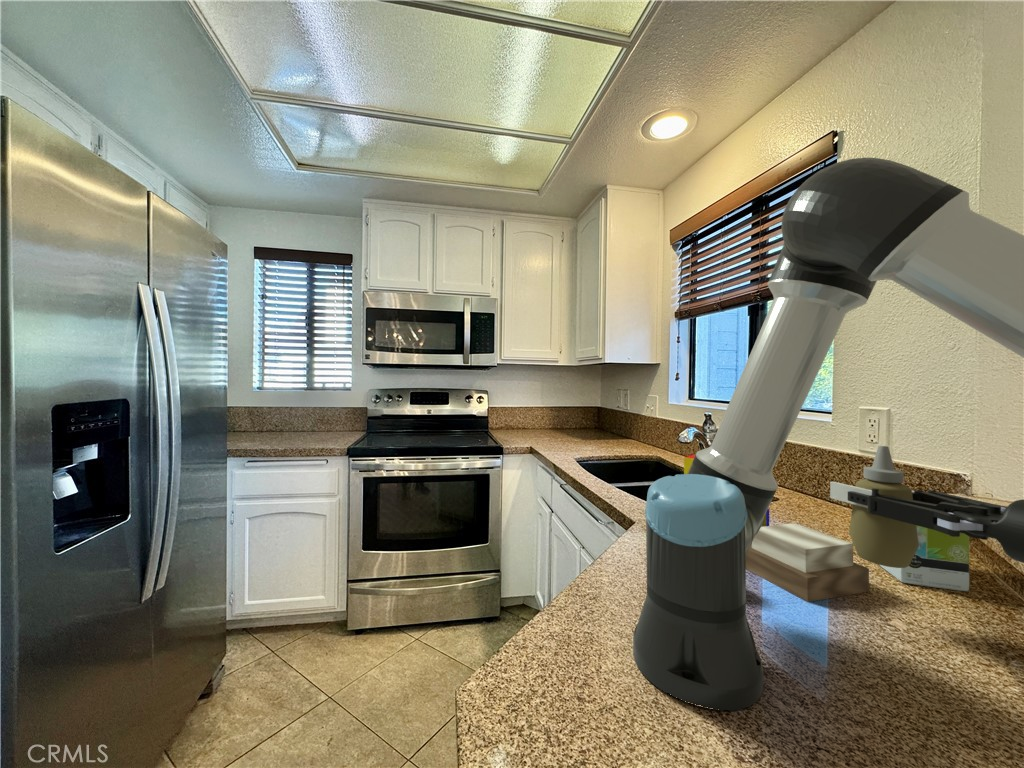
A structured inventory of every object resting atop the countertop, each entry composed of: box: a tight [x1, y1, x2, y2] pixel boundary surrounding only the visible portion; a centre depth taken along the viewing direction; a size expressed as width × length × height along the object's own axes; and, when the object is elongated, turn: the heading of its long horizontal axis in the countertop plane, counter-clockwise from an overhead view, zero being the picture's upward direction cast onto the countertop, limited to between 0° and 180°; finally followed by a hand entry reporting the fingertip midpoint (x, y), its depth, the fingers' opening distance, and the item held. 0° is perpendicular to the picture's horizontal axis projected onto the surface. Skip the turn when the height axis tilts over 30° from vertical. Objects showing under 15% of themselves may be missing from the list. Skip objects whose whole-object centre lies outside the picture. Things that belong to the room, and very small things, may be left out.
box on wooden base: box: [746, 522, 870, 603], centre depth 75 cm, size 14×14×8 cm
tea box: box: [877, 490, 970, 592], centre depth 78 cm, size 15×10×15 cm
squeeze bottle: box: [848, 445, 919, 568], centre depth 62 cm, size 8×8×18 cm
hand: (848, 488), depth 67 cm, fingers closed on squeeze bottle, 6 cm apart
